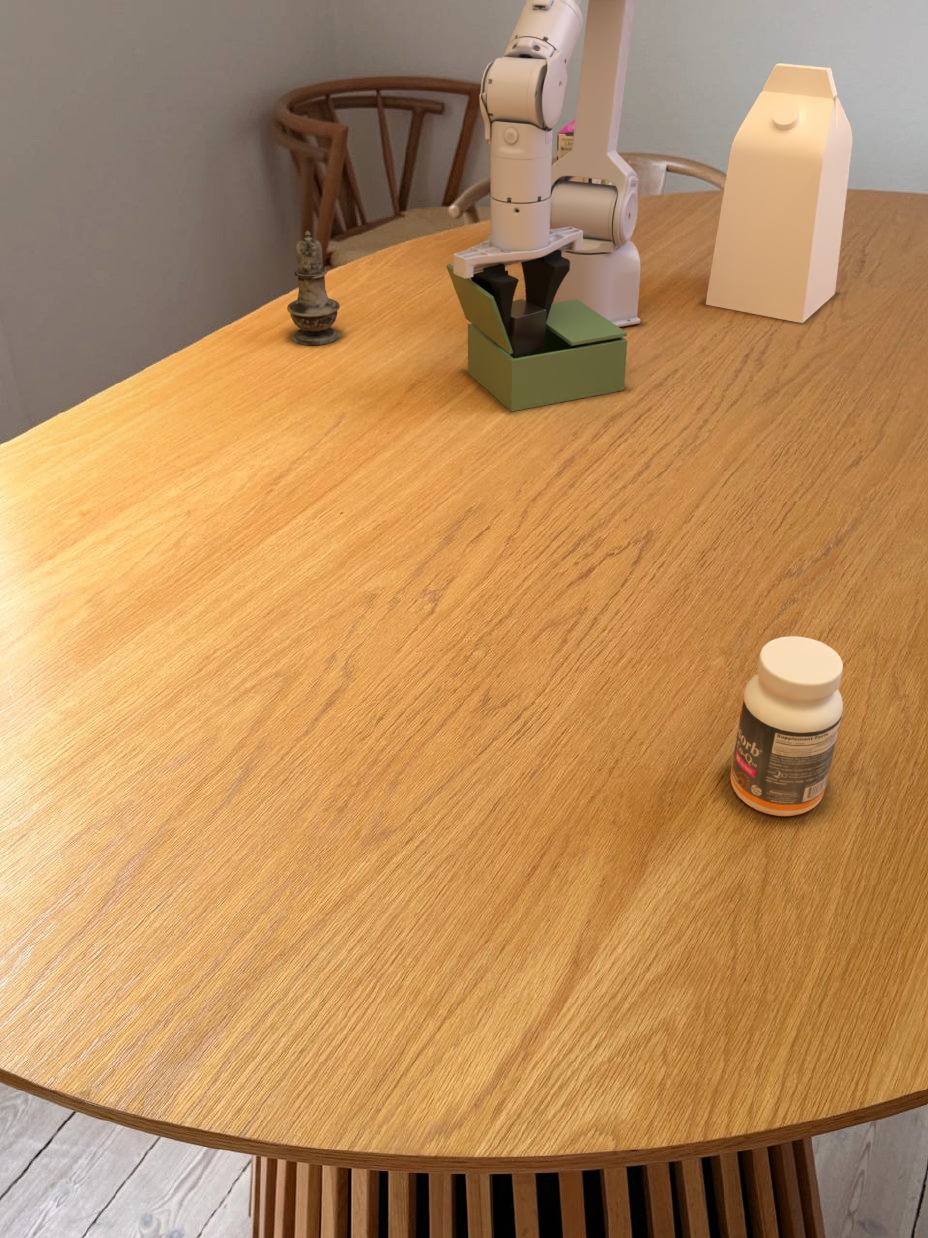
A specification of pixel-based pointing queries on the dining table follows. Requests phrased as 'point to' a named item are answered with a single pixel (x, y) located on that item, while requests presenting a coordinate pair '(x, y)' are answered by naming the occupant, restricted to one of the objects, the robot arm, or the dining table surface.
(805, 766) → the pill bottle
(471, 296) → the flap
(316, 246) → the grey tall tiered piece
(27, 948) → the dining table surface
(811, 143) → the milk
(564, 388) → the carton
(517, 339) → the block
